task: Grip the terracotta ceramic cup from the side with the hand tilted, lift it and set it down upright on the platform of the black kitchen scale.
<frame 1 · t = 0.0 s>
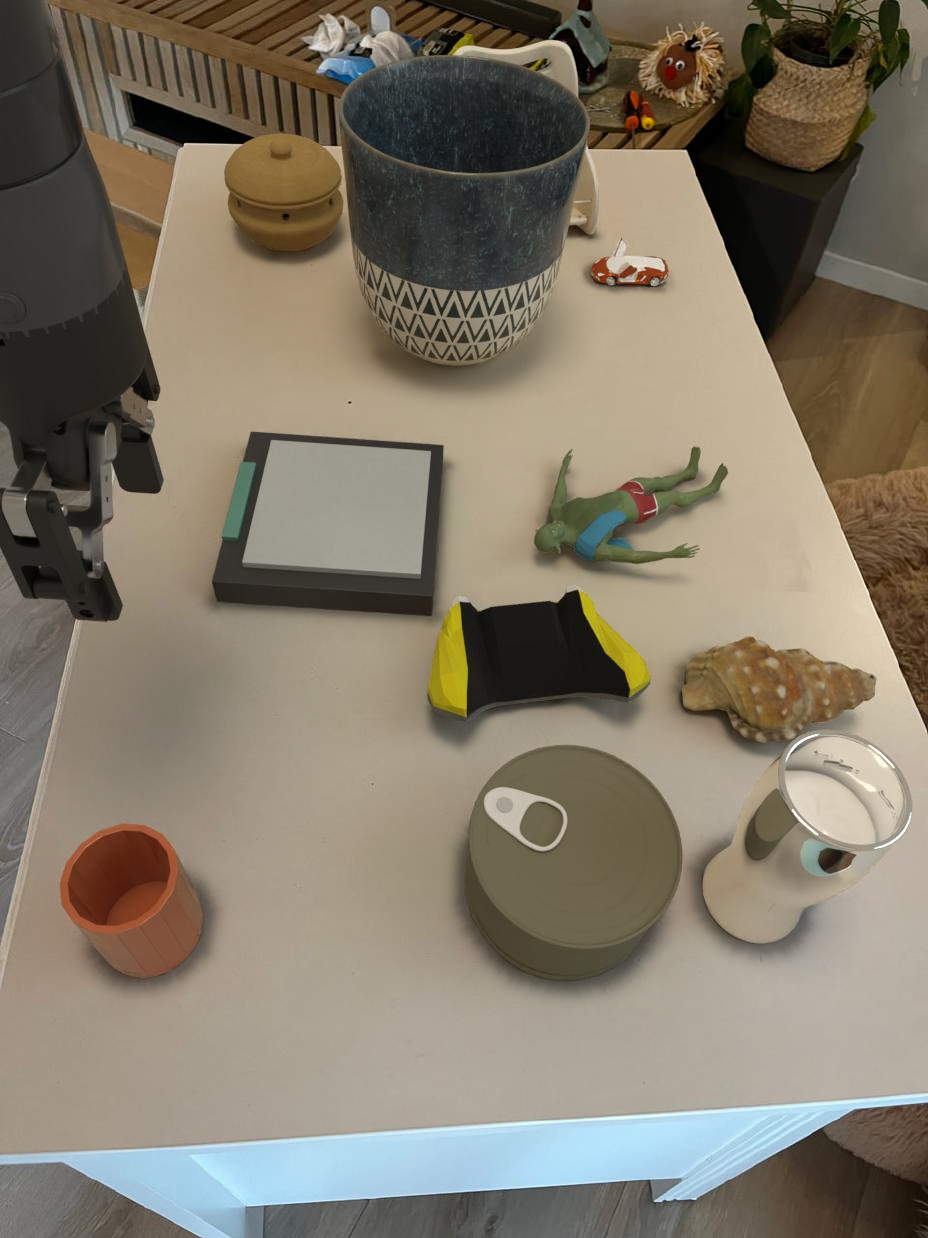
hand: (123, 548, 47), 18 cm above the table, tool pointing down, fingers open, 8 cm apart
pot: (289, 237, 97), on the table
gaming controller: (525, 679, 66), on the table
planter: (451, 343, 88), on the table
scale: (337, 529, 73), on the table
seashell: (761, 706, 65), on the table
can: (557, 885, 57), on the table
figurine: (621, 522, 75), on the table
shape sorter: (496, 222, 101), on the table
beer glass: (749, 896, 57), on the table
cup: (152, 926, 54), on the table
toy car: (627, 279, 96), on the table
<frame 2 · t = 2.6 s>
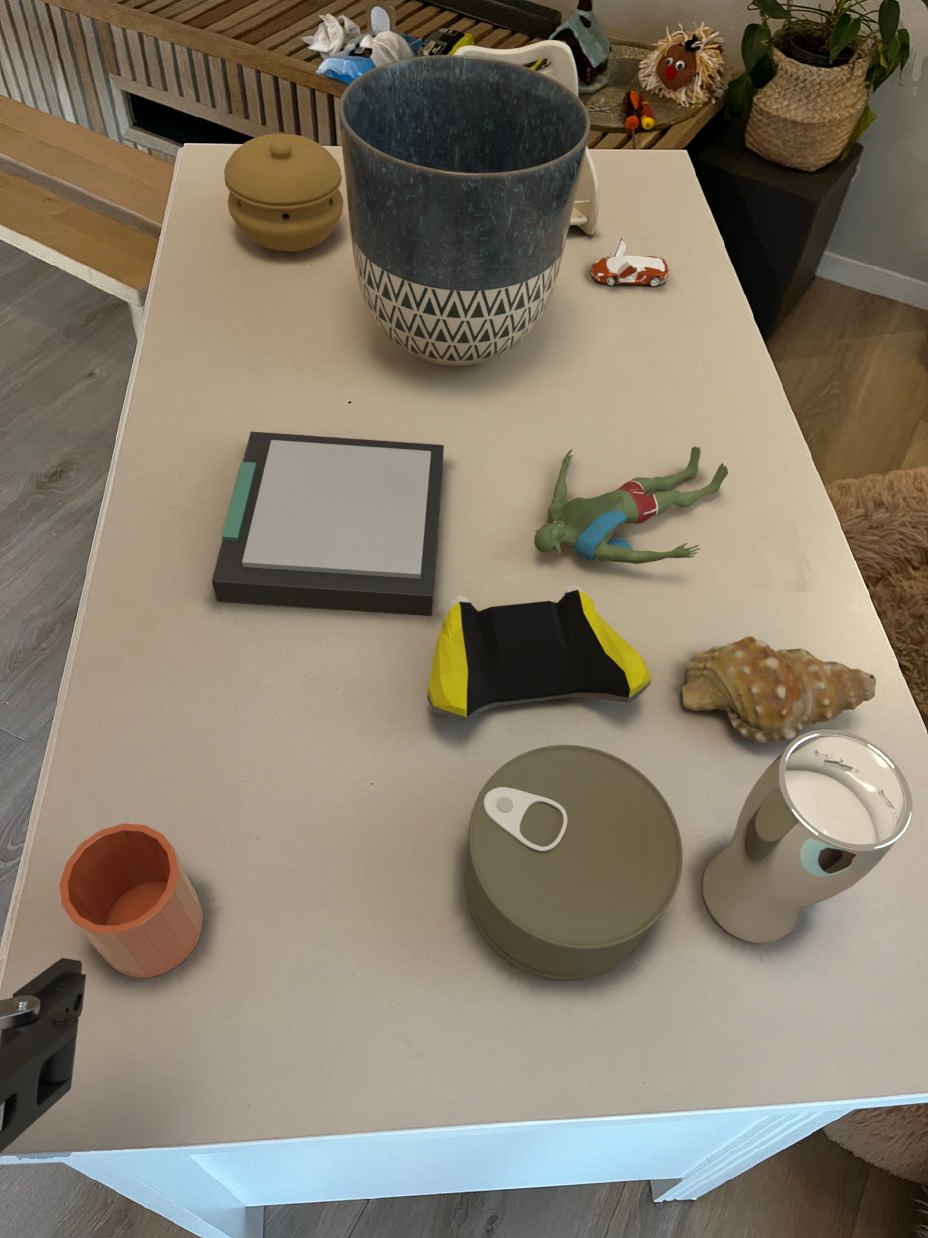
nothing on the table moved.
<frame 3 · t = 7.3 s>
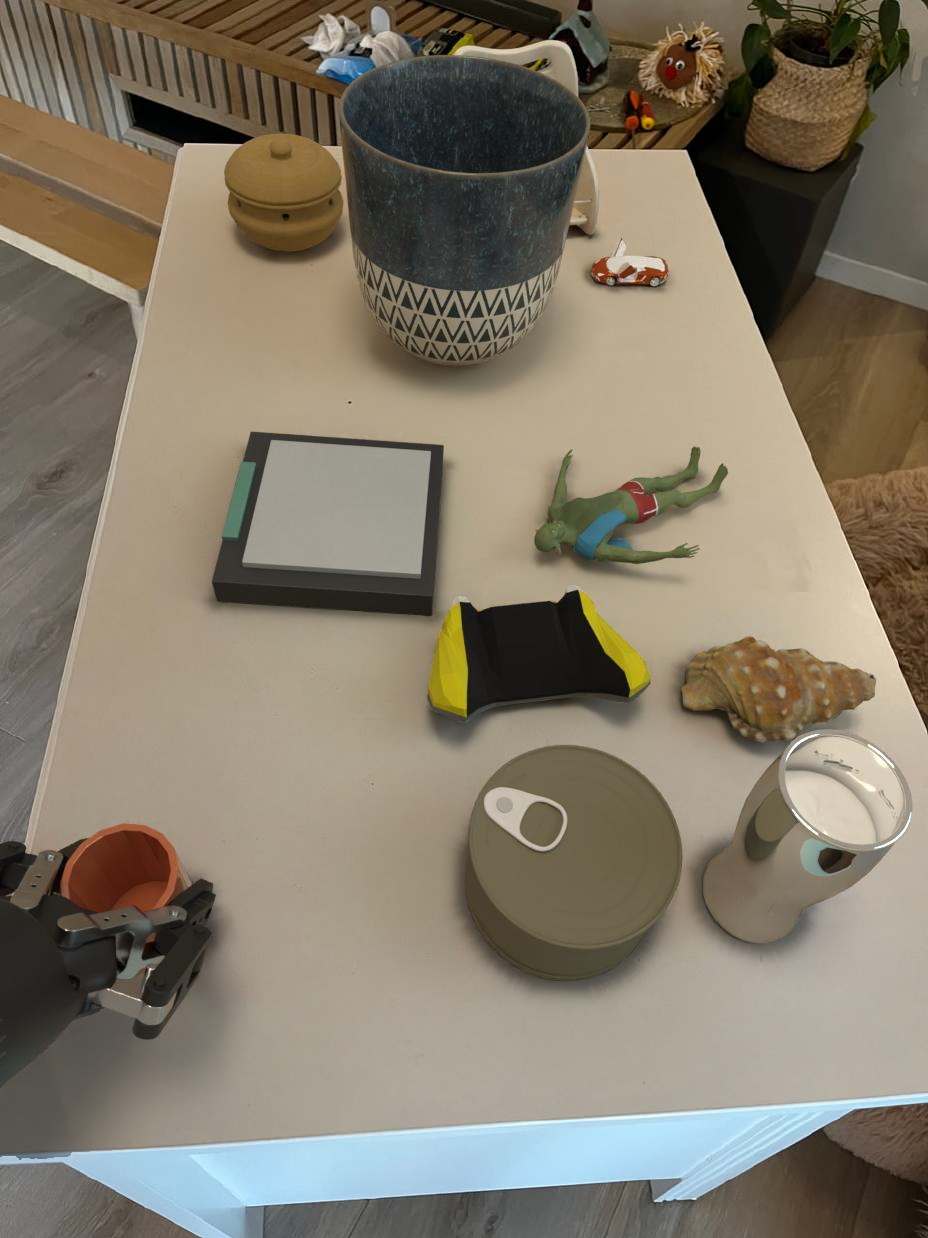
hand: (153, 873, 51), 4 cm above the table, tool tilted 45°, fingers closed on cup, 6 cm apart
cup: (152, 926, 54), on the table, touching gripper
everything else where it was.
when the fingers open (7 cm above the table, at t = 17.1 s): cup stays where it is, resting on scale.
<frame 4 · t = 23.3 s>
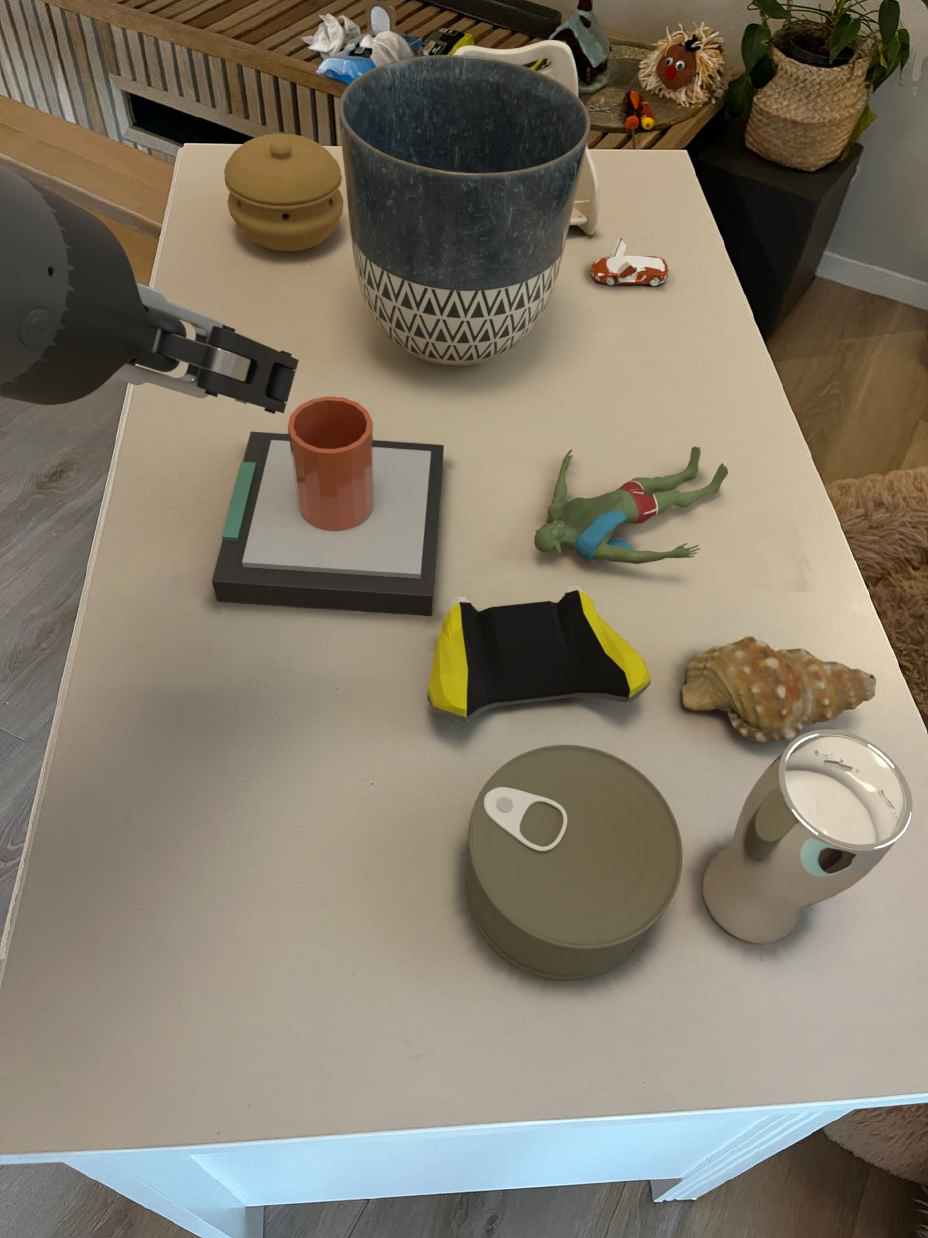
hand: (205, 360, 46), 25 cm above the table, tool tilted 45°, fingers open, 8 cm apart
cup: (336, 503, 70), point 3 cm above the table, touching scale
everything else where it was.
at the end: cup inside the target area on the scale (0.1 cm from its centre), point 3.0 cm above the scale's base; cup tilted 0°; the gripper is holding nothing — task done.
